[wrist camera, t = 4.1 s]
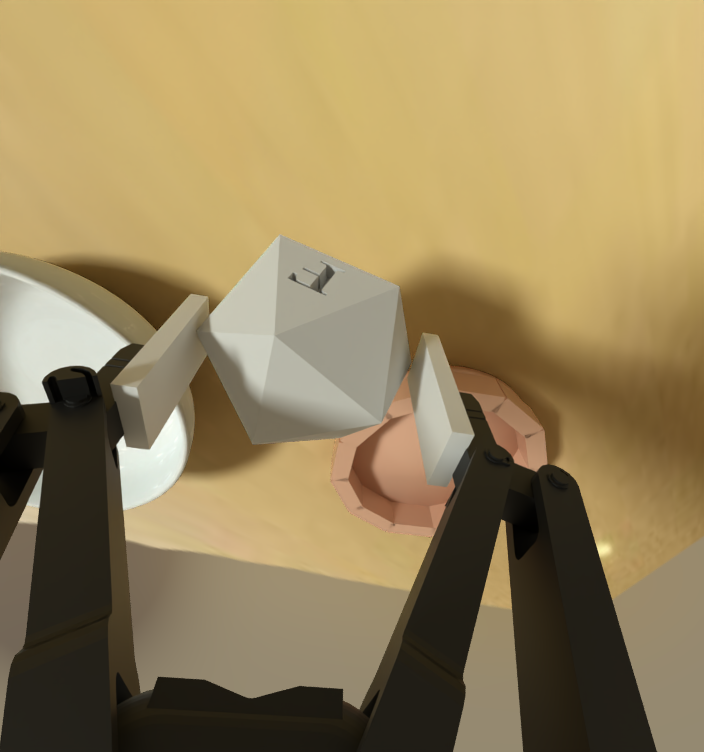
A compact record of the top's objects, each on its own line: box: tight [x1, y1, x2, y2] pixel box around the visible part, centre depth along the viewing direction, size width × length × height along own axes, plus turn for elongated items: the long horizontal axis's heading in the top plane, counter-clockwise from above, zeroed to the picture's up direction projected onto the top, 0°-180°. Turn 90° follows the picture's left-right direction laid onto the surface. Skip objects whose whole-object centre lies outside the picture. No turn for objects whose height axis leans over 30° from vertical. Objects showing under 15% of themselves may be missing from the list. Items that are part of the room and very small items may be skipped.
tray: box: [331, 365, 547, 537], centre depth 33 cm, size 18×18×4 cm
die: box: [196, 235, 412, 445], centre depth 17 cm, size 8×9×10 cm
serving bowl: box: [0, 251, 195, 511], centre depth 27 cm, size 21×21×7 cm
